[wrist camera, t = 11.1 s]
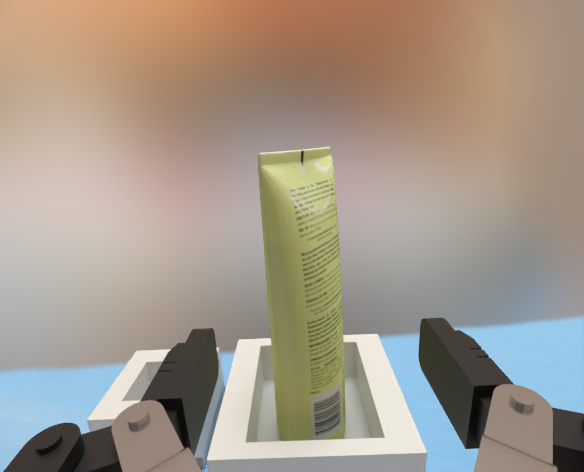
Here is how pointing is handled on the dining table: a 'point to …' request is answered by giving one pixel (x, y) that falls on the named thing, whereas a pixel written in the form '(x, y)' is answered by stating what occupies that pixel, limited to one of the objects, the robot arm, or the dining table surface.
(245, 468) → the endcap
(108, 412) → the endcap
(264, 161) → the tube
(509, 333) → the dining table surface
